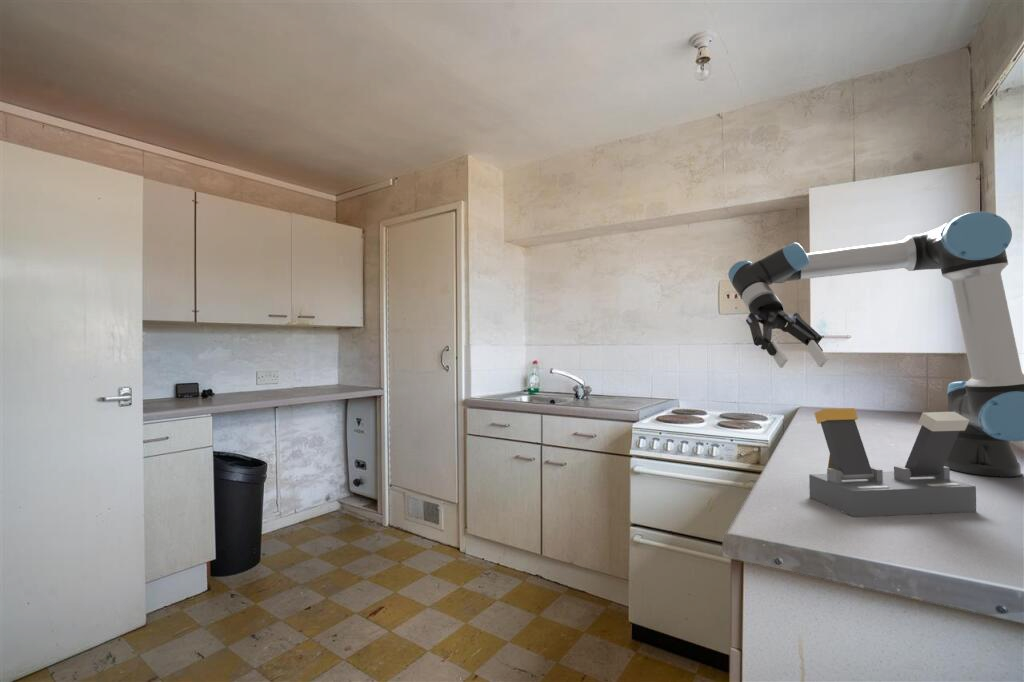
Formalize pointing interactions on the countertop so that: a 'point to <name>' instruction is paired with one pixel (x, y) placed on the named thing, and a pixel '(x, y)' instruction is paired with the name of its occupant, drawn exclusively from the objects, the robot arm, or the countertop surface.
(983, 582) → the countertop surface
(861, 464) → the amber lever
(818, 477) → the switch block
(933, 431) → the cream lever
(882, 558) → the countertop surface
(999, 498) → the countertop surface
